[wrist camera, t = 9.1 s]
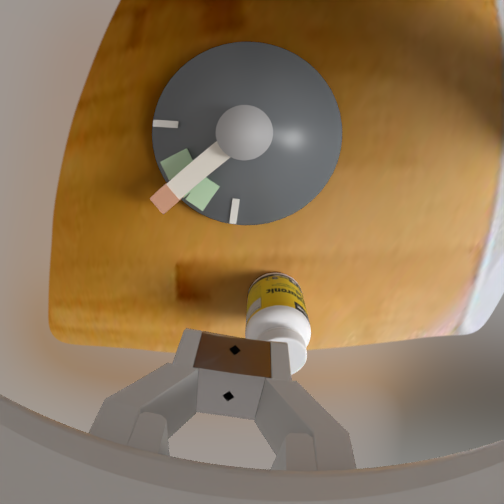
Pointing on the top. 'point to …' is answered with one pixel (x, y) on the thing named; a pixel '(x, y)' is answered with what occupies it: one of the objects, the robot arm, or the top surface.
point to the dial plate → (283, 122)
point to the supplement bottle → (279, 315)
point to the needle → (220, 151)
